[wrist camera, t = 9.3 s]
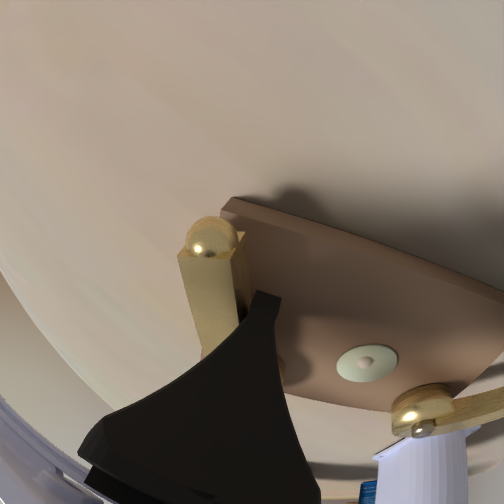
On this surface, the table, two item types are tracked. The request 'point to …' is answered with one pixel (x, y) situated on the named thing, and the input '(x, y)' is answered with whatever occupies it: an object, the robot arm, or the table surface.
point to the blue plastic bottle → (368, 493)
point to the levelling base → (365, 312)
